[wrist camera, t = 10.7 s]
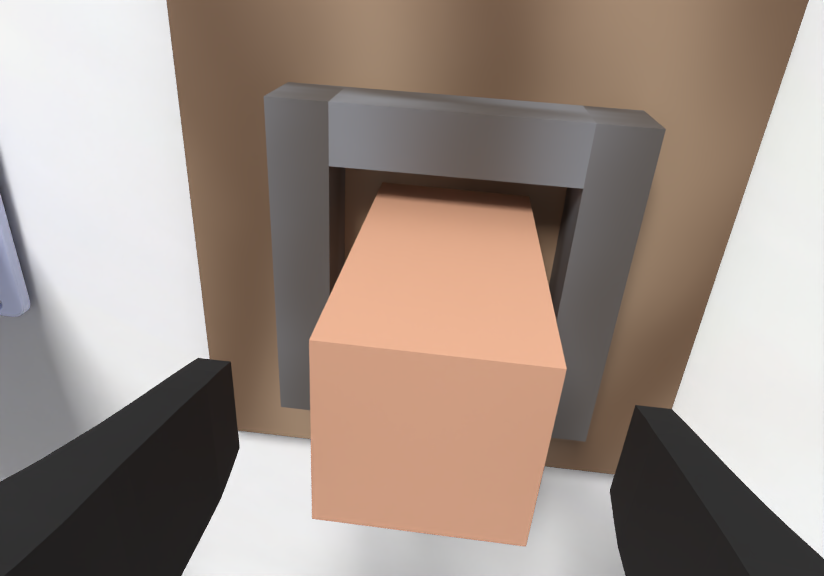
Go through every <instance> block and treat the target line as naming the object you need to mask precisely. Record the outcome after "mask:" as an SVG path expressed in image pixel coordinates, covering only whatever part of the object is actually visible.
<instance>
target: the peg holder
mask: <svg viewBox="0 0 824 576" xmlns="http://www.w3.org/2000/svg"><path fill="white" fill-rule="evenodd" d="M808 1H809V0H167V8H168V16H169V25H170V33H171V41H172V50H173V58H174V66H175V74H176V83H177V91H178V99H179V108H180V116H181V124H182V133H183V141H184V149H185V157H186V166H187V174H188V182H189V191H190V199H191V207H192V216H193V224H194V232H195V240H196V249H197V257H198V265H199V274H200V282H201V290H202V298H203V307H204V315H205V323H206V332H207V340H208V348H209V357H210V359H212V360H221V361H230V362H231V368H232V378H233V388H234V398H235V408H236V417H237V427H238V430H239V431H247V432H256V433H264V434H273V435H282V436H290V437H299V438H307V439H311V423H310V364H309V339H310V337H311V335H312V333H313V331H314V328H315V326H316V324H317V322H318V320H319V318H320V316H321V313H322V311H323V309H324V307H325V305H326V303H327V300H328V298H329V296H330V294H331V292H332V290H333V288H334V285H335V283H336V281H337V279H338V277H339V275H340V273H341V270H342V268H343V266H344V264H345V262H346V260H347V257H348V255H349V253H350V251H351V249H352V247H353V245H354V242H355V240H356V238H357V236H358V234H359V232H360V230H361V227H362V225H363V223H364V221H365V219H366V217H367V215H368V212H369V210H370V208H371V206H372V204H373V202H374V199H375V197H376V195H377V193H378V191H379V189H380V187H381V184H382V182H385V183H395V184H406V185H416V186H426V187H437V188H447V189H457V190H468V191H478V192H488V193H499V194H509V195H520V196H529V198H530V203H531V207H532V212H533V217H534V221H535V226H536V230H537V235H538V239H539V244H540V249H541V253H542V258H543V262H544V267H545V272H546V276H547V281H548V285H549V290H550V294H551V299H552V304H553V308H554V313H555V317H556V322H557V327H558V331H559V336H560V340H561V345H562V349H563V354H564V359H565V363H566V368H567V370H566V375H565V379H564V383H563V388H562V392H561V396H560V401H559V405H558V409H557V414H556V418H555V422H554V427H553V431H552V435H551V440H550V444H549V448H548V453H547V457H546V461H545V466H547V467H556V468H564V469H573V470H582V471H590V472H599V473H607V474H615V472H616V468H617V465H618V462H619V458H620V455H621V452H622V448H623V445H624V442H625V438H626V435H627V431H628V428H629V425H630V421H631V418H632V415H633V411H634V408H635V405H640V406H649V407H658V408H668V409H672V407H673V404H674V401H675V398H676V395H677V392H678V389H679V386H680V383H681V380H682V377H683V374H684V371H685V368H686V365H687V362H688V359H689V356H690V353H691V350H692V347H693V344H694V341H695V338H696V335H697V332H698V329H699V326H700V323H701V320H702V317H703V314H704V311H705V308H706V305H707V302H708V299H709V296H710V293H711V290H712V287H713V284H714V281H715V278H716V275H717V272H718V269H719V266H720V263H721V260H722V257H723V254H724V251H725V248H726V245H727V243H728V240H729V237H730V234H731V231H732V228H733V225H734V222H735V219H736V216H737V213H738V210H739V207H740V204H741V201H742V198H743V195H744V192H745V189H746V186H747V183H748V180H749V177H750V174H751V171H752V168H753V165H754V162H755V159H756V156H757V153H758V150H759V147H760V144H761V141H762V138H763V135H764V132H765V129H766V126H767V123H768V120H769V117H770V114H771V111H772V108H773V105H774V102H775V99H776V96H777V93H778V90H779V87H780V84H781V81H782V78H783V75H784V73H785V70H786V67H787V64H788V61H789V58H790V55H791V52H792V49H793V46H794V43H795V40H796V37H797V34H798V31H799V28H800V25H801V22H802V19H803V16H804V13H805V10H806V7H807V4H808Z"/></svg>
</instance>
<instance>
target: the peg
mask: <svg viewBox="0 0 824 576" xmlns="http://www.w3.org/2000/svg"><path fill="white" fill-rule="evenodd" d="M309 364H310V423H311V481H312V519H319V520H326V521H334V522H342V523H349V524H357V525H365V526H372V527H380V528H388V529H395V530H403V531H411V532H419V533H426V534H434V535H442V536H449V537H457V538H465V539H472V540H480V541H488V542H495V543H503V544H511V545H519V546H526V544H527V539H528V535H529V531H530V526H531V522H532V518H533V513H534V509H535V505H536V500H537V496H538V492H539V487H540V483H541V479H542V474H543V470H544V466H545V461H546V457H547V453H548V448H549V444H550V440H551V435H552V431H553V427H554V422H555V418H556V414H557V409H558V405H559V401H560V396H561V392H562V388H563V383H564V379H565V375H566V370H567V368H566V363H565V359H564V354H563V349H562V345H561V340H560V336H559V331H558V327H557V322H556V317H555V313H554V308H553V304H552V299H551V294H550V290H549V285H548V281H547V276H546V272H545V267H544V262H543V258H542V253H541V249H540V244H539V239H538V235H537V230H536V226H535V221H534V217H533V212H532V207H531V203H530V198H529V196H520V195H509V194H499V193H488V192H478V191H468V190H457V189H447V188H437V187H426V186H416V185H406V184H395V183H385V182H382V184H381V187H380V189H379V191H378V193H377V195H376V197H375V199H374V202H373V204H372V206H371V208H370V210H369V212H368V215H367V217H366V219H365V221H364V223H363V225H362V227H361V230H360V232H359V234H358V236H357V238H356V240H355V242H354V245H353V247H352V249H351V251H350V253H349V255H348V257H347V260H346V262H345V264H344V266H343V268H342V270H341V273H340V275H339V277H338V279H337V281H336V283H335V285H334V288H333V290H332V292H331V294H330V296H329V298H328V300H327V303H326V305H325V307H324V309H323V311H322V313H321V316H320V318H319V320H318V322H317V324H316V326H315V328H314V331H313V333H312V335H311V337H310V339H309Z"/></svg>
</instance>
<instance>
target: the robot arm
mask: <svg viewBox="0 0 824 576" xmlns="http://www.w3.org/2000/svg"><path fill="white" fill-rule="evenodd" d="M0 301H1V303H0V315H2V316H11V317H18V316H20V315H22V314H23V313H25V312H26V311H27V310H29V308H30V300H29V296H28V292H27V289H26V285H25V281H24V278H23V274H22V271H21V267H20V263H19V260H18V256H17V253H16V249H15V245H14V242H13V238H12V234H11V231H10V227H9V224H8V220H7V216H6V213H5V209H4V206H3V202H2V198H1V195H0ZM239 448H240V447H239V437H238V427H237V417H236V408H235V398H234V388H233V378H232V368H231V362H230V361H221V360H212V359H202V358H198V359H196V360H194V361H193V362H191V363H189V364H188V365H186V366H185V367H183V368H182V369H180V370H179V371H177V372H176V373H174V374H173V375H171V376H170V377H168V378H167V379H166V380H164V381H163V382H161V383H160V384H158V385H157V386H155V387H154V388H152V389H151V390H149V391H148V392H147V393H145V394H144V395H142V396H141V397H139V398H138V399H136V400H135V401H133V402H132V403H130V404H129V405H127V406H126V407H124V408H123V409H121V410H120V411H118V412H117V413H115V414H114V415H112V416H111V417H109V418H108V419H106V420H105V421H103V422H101V423H100V424H98V425H97V426H95V427H93V428H92V429H90V430H89V431H87V432H85V433H84V434H82V435H80V436H79V437H77V438H75V439H74V440H72V441H70V442H69V443H67V444H66V445H64V446H62V447H61V448H59V449H57V450H56V451H54V452H52V453H51V454H49V455H48V456H46V457H44V458H43V459H41V460H39V461H37V462H36V463H34V464H32V465H30V466H29V467H27V468H25V469H23V470H21V471H19V472H18V473H16V474H14V475H12V476H10V477H8V478H7V479H5V480H3V481H1V482H0V576H181V575H182V573H183V571H184V569H185V568H186V566H187V564H188V562H189V560H190V558H191V556H192V554H193V552H194V550H195V548H196V546H197V544H198V543H199V541H200V539H201V537H202V535H203V533H204V531H205V529H206V527H207V525H208V523H209V521H210V519H211V517H212V515H213V513H214V511H215V509H216V507H217V505H218V503H219V501H220V499H221V497H222V494H223V492H224V489H225V487H226V484H227V481H228V479H229V476H230V473H231V470H232V468H233V465H234V462H235V459H236V456H237V453H238V450H239ZM610 495H611V502H612V510H613V518H614V525H615V531H616V537H617V544H618V549H619V553H620V556H621V560H622V564H623V568H624V571H625V575H626V576H824V559H823V558H822V557H821V556H820V555H819V554H818V553H817V552H816V551H815V550H813V549H812V548H811V547H810V546H809V545H808V544H807V543H806V542H805V541H804V540H802V539H801V538H800V537H799V536H798V535H797V534H796V533H795V532H794V531H793V530H791V529H790V528H789V527H788V526H787V525H786V524H785V523H784V522H783V521H782V520H781V519H780V518H779V517H778V516H777V515H776V514H775V513H773V512H772V511H771V510H770V509H769V508H768V507H767V506H766V505H765V504H764V503H763V502H762V501H761V500H760V499H759V498H758V497H757V496H756V495H755V494H754V493H753V492H752V491H751V490H750V489H749V488H748V487H747V486H746V485H745V484H744V483H743V482H742V481H741V480H740V479H739V478H738V477H737V476H736V475H735V474H734V473H733V472H732V471H731V470H730V469H729V468H728V467H727V466H726V465H725V464H724V463H723V461H722V460H721V459H720V458H719V457H718V456H717V455H716V454H715V453H714V452H713V451H712V450H711V449H710V448H709V447H708V446H707V445H706V444H705V443H704V442H703V441H702V440H701V439H700V437H699V436H698V435H697V434H696V433H695V432H694V431H693V430H692V429H691V428H690V427H689V426H688V425H687V424H686V423H685V422H684V421H683V420H682V419H681V418H680V417H679V416H678V415H677V414H676V413H675V412H674V411H673V410H672V409H668V408H658V407H649V406H640V405H635V408H634V411H633V415H632V418H631V421H630V425H629V428H628V431H627V435H626V438H625V442H624V445H623V448H622V452H621V455H620V458H619V462H618V465H617V468H616V472H615V475H614V478H613V482H612V485H611V489H610Z"/></svg>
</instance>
